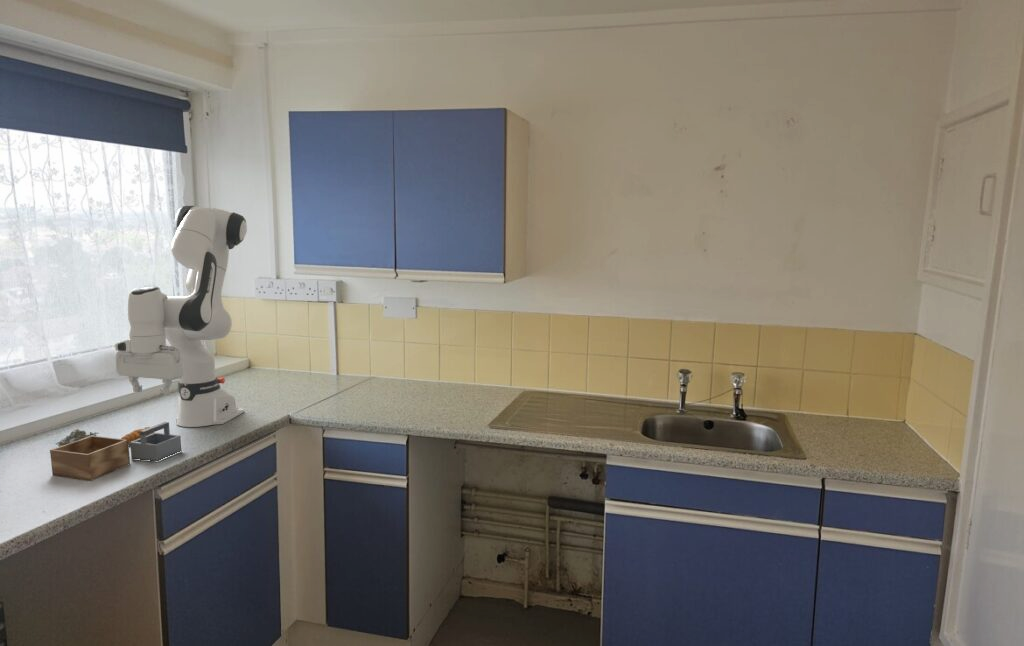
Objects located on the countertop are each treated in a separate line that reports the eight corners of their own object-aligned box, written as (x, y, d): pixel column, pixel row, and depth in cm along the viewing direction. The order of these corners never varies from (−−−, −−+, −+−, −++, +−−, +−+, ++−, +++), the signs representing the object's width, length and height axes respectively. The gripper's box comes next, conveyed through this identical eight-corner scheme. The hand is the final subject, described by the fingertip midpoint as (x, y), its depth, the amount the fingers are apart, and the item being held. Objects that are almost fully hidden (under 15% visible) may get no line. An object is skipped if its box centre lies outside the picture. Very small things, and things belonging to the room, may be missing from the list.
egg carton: (79, 440, 205) (78, 427, 205) (102, 441, 205) (101, 428, 204) (53, 452, 195) (51, 438, 194) (77, 453, 194) (76, 439, 193)
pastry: (127, 448, 198) (126, 436, 198) (115, 444, 202) (114, 432, 201) (158, 439, 206) (157, 427, 205) (146, 436, 210) (145, 424, 209)
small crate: (156, 448, 197) (154, 420, 196) (181, 452, 195) (179, 423, 193) (131, 459, 188) (129, 429, 187) (157, 462, 186) (155, 432, 185)
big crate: (94, 459, 188) (92, 435, 187) (130, 464, 185) (128, 439, 184) (52, 475, 176) (49, 450, 175) (90, 480, 173) (87, 454, 172)
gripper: (187, 344, 187) (190, 393, 189) (128, 341, 192) (131, 387, 194) (170, 348, 181) (173, 398, 183) (110, 344, 186) (113, 392, 188)
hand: (151, 393), depth 188 cm, fingers open, 8 cm apart
